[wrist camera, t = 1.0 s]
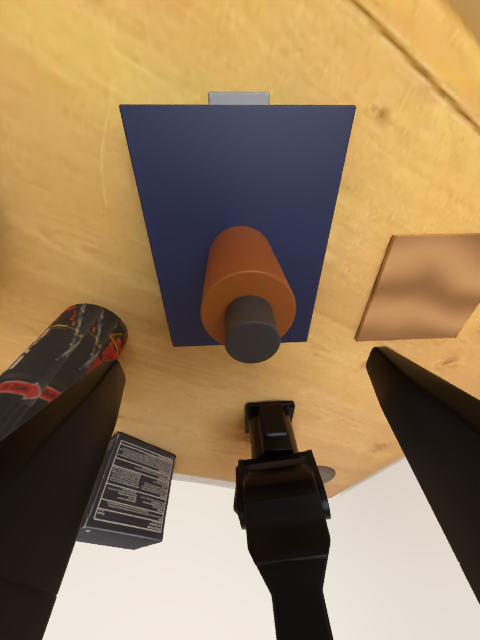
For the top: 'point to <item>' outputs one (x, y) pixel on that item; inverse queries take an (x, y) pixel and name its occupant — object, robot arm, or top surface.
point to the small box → (129, 496)
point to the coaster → (424, 288)
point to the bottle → (246, 295)
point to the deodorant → (58, 361)
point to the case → (236, 192)
